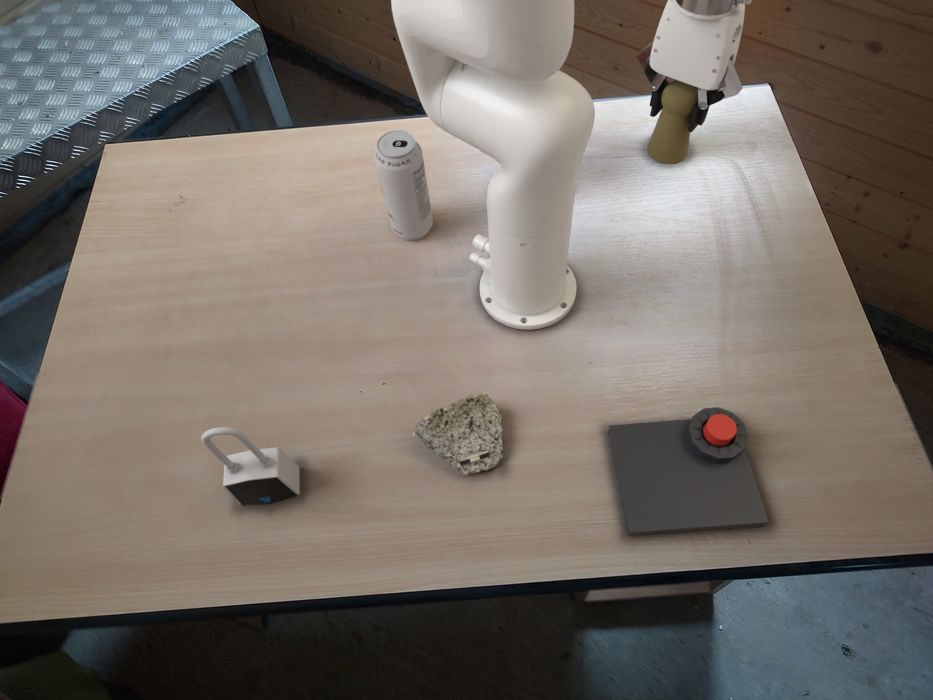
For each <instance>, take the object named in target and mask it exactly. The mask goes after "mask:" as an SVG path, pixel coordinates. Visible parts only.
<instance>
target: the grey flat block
mask: <svg viewBox="0 0 933 700" xmlns="http://www.w3.org/2000/svg"><path fill="white" fill-rule="evenodd" d="M716 414H723V415H726V416H728V417H730V418H731V419H732V420H733V421H734V422H735V424H736V427H737V432H736V434H735V436H734V437H733V439H732V440H731V441H730V443H729V444H727V445H725V446H715V445H712V444H711V443H709V442H708V441H707V440H706V439H705V437H704V434H703V428H704V426H705V424H706V423H707V421H708V420H709V418H710V417H711V416H713V415H716ZM607 433H608V439H609V444H610V448H611V453H612V459H613V464H614V469H615V474H616V480H617V485H618V490H619V495H620V500H621V505H622V510H623V516H624V522H625V527H626V532H627V535H628V537H636V536H637V537H638V536H639V537H640V536H650V535H651V536H653V535H663V534H664V535H665V534H677V533H678V534H679V533H691V532H705V531H706V532H707V531H719V530H720V531H721V530H732V529H746V528H760V527H761V528H762V527H765V526H767V525H768V524H769V523H770V520H769V518H768V517H769V516H768V514H767V512H766V508H765V505H764V502H763V499H762V496H761V493H760V492H761V491H760V490H759V487H758V483H757V479H756V477H755V474H754V470H753V467H752V465H751V464H752V463H751V461H750V458H749V454H748V452H747V451H748V450H747V449H746V448H747V447H746V445H747V443H748V439H749V436H748V432H747V430H746V427H745V423H744V422H743V421H742V420H741V419H740V418H739V417H738V416H737V415H736V414H735V413H734V412H732V411H730V410H727V409H725V408H721V407H719V406H717V407H704V408H702V409H700V410H699V411H698V412H696V413H695V414H694V415H692V417H691V418H687V419H676V420H662V421H661V420H660V421H649V422H638V423H623V424H612V425H609V426H608V429H607Z"/></svg>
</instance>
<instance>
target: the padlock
mask: <svg viewBox="0 0 933 700" xmlns="http://www.w3.org/2000/svg"><path fill="white" fill-rule="evenodd" d="M221 435H223V436H225V435H226V436H232V437H235V438H237V439H238V440H239V441H240V442H241V443H242V444H243V445H244V446H245V447H246V448H247V449H248V450H246V451H245V450H244V451H242V452H241V451H240V452H237V453H233V454H228V455H226V454H225V453H224V452H223V451H222V450H221V449H220V448H219V447H218V446H217V445H216V444H215V443H214V442H213V440H211V438H212V437H215V436H221ZM200 439H201V443H202V444H203V445H204V446H205V447H206V448H207V449H208V450H209V451H210V453H211V454H213V456H215V457H216V458H217V459H218V460H219V461H220V462H221V463H222V464H223V484H222V487H223V488H224V490H226V492H227V493H228V494H229V495H230V496H231V497H232V499H234V500H235V502H236V503H237V504H238V505H239V506H248V505H251V506H252V505H270V504H274V503H277V502H281V501H283V500H287V499H290V498H294V497H296V496H299V495H301V492H300V487H301V486H300V485H301V483H300V466H299V465H298V464H297V463H296V462H295V461H294V460H293V459H292V458H291V457H289V456H288V455H287V454H286V453H285V451H283V450H282V449H281V448H280V447H279V446H278V447H277V446H276V447H268V448H259V447H258V446H257V445H256V444H255V443H254V442H253V441H252V440H251V438H249V437H248V436H247V435H246V434H245V433H244V432H243V431H241V430H240V429H238V428H234V427H230V426H229V427H228V426H219V427H214V428H210V429H207V430H206V431H204V432H203V433H202V435H201V437H200Z"/></svg>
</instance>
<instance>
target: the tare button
mask: <svg viewBox="0 0 933 700" xmlns="http://www.w3.org/2000/svg"><path fill="white" fill-rule="evenodd" d="M736 432H737V427H736V424H735V422H734V421H733V420H732V419H731V418H730V417H728V416H726V415H723V414H716V415H713V416H711V417H710V418H709V420H708V421H707V423H706V424H705V426H704V428H703V434H704V437H705V439H706V440H707V441H708V442H709V443H711V444H712V445H715V446H725V445H727V444H729V443H730V441H731V440H732V439H733V437H734V436H735V434H736Z"/></svg>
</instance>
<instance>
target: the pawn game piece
mask: <svg viewBox="0 0 933 700" xmlns="http://www.w3.org/2000/svg"><path fill="white" fill-rule="evenodd" d="M661 101H662V105H663V108H662V110H661V111H660V112H659V113H660V114H659V115H658V118H657V121H656V123H655V126H654V128H653V131H652V134H651V136H650V138H649V141H648V144H647V146H646V152H647V155H648V156H649V158H651V159H652V160H653V161H655V162H657V163H660V164H665V165H672V164H673V165H675V164H678V163H681V162H682V161H684V160H685V159H686V158H687V156H688V152H689V144H690V136H691V132H690V131H688V125H689V122H690V118H691V115H692V111H693V108H694V106H695V105H696V104H697V103H698V87H695V86H692V85H690V84H687V83H684V82H681V81H679V80H676V79H673V80H671V81H669V84H668V85H667V86H666V87H665V88H664V90H663V93H662V98H661Z"/></svg>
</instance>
